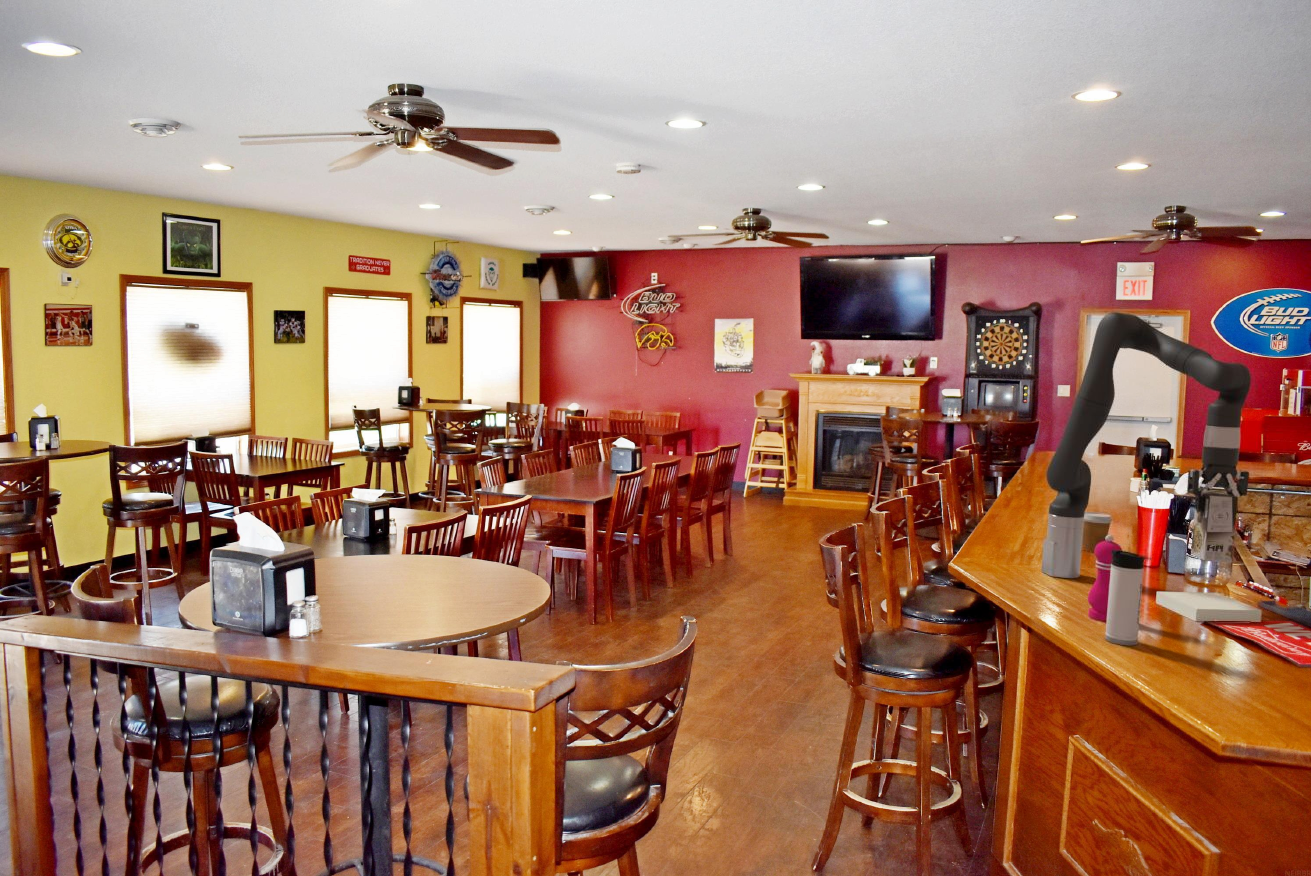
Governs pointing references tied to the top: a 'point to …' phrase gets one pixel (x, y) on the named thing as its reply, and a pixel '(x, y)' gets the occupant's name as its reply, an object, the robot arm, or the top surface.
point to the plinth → (1208, 606)
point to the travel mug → (1124, 598)
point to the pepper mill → (1102, 579)
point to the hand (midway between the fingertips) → (1215, 512)
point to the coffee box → (1215, 528)
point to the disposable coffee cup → (1095, 529)
